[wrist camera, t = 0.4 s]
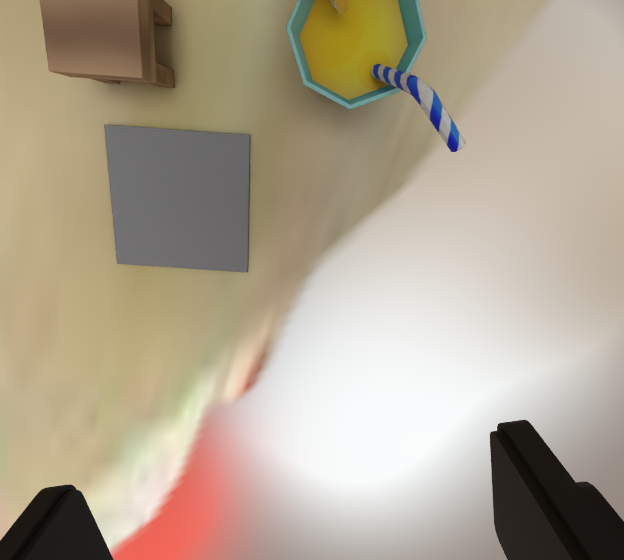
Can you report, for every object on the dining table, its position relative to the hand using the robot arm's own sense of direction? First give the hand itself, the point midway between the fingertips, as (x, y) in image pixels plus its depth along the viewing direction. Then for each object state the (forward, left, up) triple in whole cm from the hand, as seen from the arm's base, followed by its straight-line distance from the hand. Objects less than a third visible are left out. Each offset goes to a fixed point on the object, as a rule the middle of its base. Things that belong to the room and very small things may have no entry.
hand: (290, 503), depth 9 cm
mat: (-2, -11, -29) cm, 31 cm away
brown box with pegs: (-14, -14, -29) cm, 35 cm away
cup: (-13, +3, -29) cm, 32 cm away
